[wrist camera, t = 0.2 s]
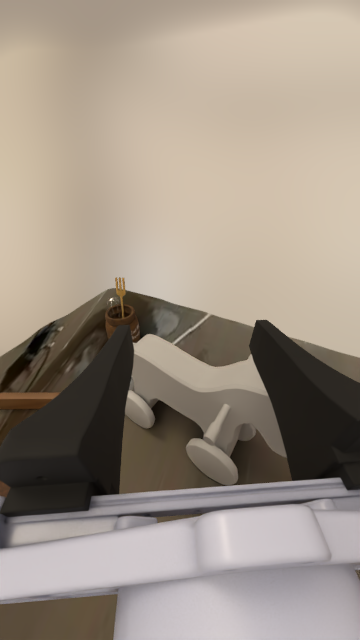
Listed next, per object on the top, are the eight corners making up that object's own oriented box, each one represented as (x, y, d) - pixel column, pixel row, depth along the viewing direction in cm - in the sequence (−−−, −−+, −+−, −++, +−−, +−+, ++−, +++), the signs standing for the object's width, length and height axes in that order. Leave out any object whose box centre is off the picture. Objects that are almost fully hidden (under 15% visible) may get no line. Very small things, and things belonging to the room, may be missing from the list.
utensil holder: (106, 351, 41) (90, 295, 34) (114, 330, 46) (102, 277, 39) (138, 352, 41) (129, 296, 34) (142, 330, 46) (136, 277, 39)
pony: (279, 443, 28) (336, 348, 18) (252, 535, 21) (319, 465, 11) (156, 373, 37) (149, 282, 27) (109, 423, 30) (75, 326, 20)
